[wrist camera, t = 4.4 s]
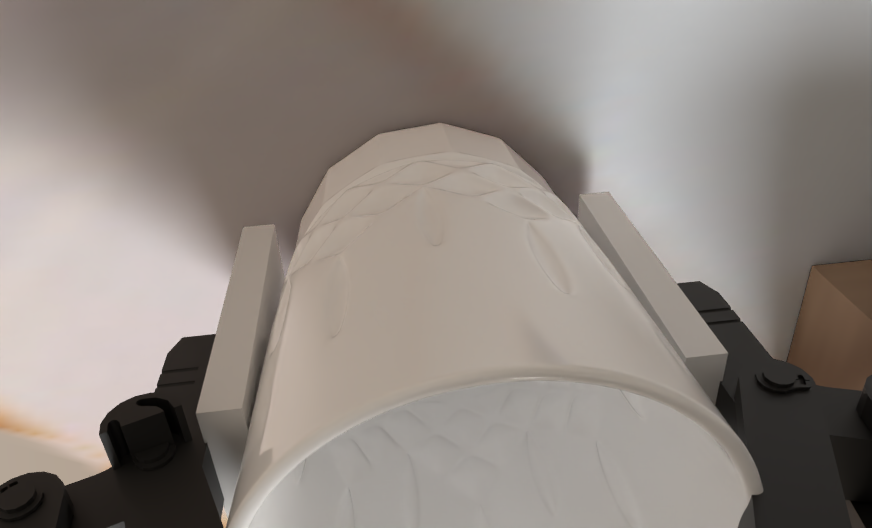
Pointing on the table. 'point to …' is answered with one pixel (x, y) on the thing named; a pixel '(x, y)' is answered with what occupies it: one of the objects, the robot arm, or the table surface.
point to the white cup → (472, 364)
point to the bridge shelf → (836, 326)
